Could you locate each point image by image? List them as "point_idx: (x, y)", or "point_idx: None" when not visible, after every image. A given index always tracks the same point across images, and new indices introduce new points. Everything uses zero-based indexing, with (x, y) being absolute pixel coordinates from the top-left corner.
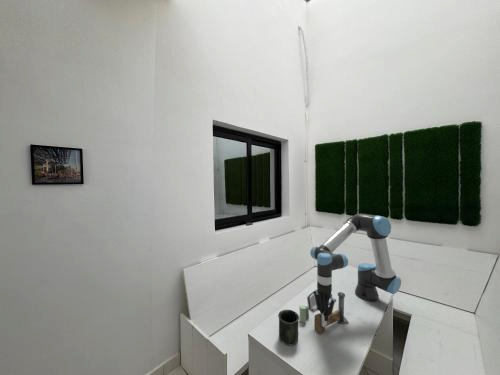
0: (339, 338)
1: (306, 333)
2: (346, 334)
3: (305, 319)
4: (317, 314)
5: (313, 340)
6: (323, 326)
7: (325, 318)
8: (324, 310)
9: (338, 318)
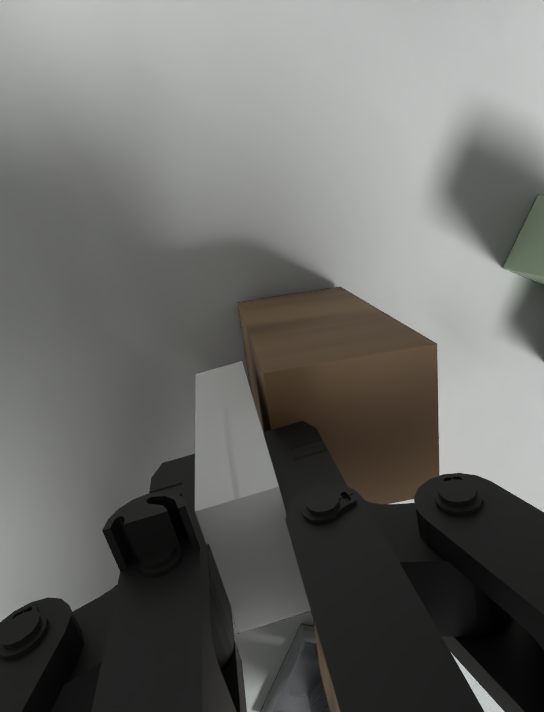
0: (99, 491)
1: (332, 122)
2: None
3: (534, 268)
4: (430, 429)
5: (177, 128)
6: (201, 374)
7: (178, 492)
8: (174, 676)
9: (325, 681)
